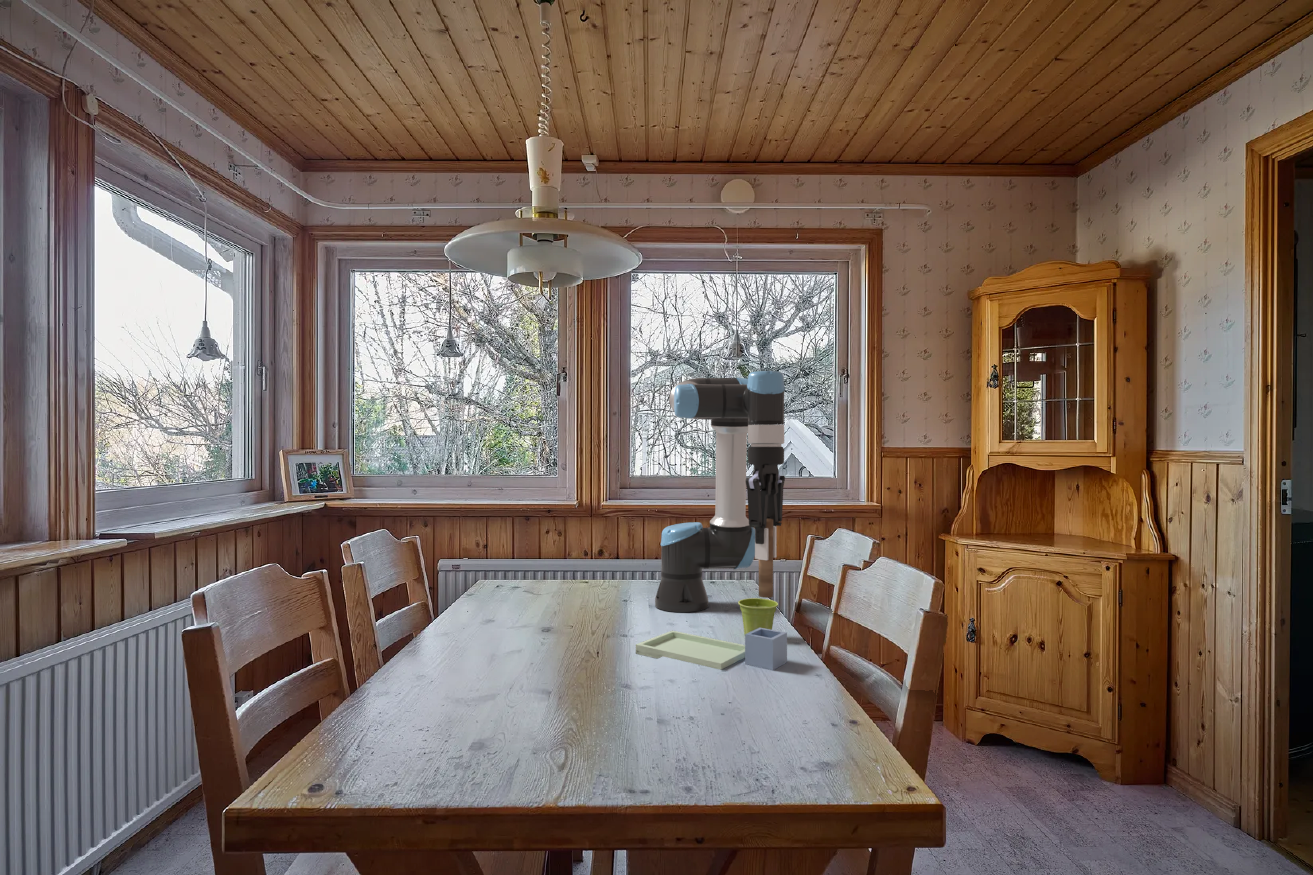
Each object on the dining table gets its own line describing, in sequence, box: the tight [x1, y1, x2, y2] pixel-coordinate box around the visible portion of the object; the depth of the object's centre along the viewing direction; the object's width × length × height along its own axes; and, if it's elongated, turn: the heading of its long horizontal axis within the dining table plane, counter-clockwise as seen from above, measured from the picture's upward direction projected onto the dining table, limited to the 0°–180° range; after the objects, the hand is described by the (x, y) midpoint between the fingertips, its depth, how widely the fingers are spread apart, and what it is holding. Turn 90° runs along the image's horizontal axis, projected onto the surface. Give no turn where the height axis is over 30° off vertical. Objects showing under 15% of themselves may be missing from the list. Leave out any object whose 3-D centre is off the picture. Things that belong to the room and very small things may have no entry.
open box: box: [744, 628, 788, 672], centre depth 144 cm, size 6×6×7 cm
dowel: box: [758, 519, 774, 599], centre depth 145 cm, size 3×3×16 cm
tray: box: [635, 630, 745, 670], centre depth 153 cm, size 14×22×2 cm, turn 53°
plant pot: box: [737, 597, 779, 636], centre depth 165 cm, size 9×9×9 cm
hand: (765, 557), depth 145 cm, fingers closed on dowel, 3 cm apart
